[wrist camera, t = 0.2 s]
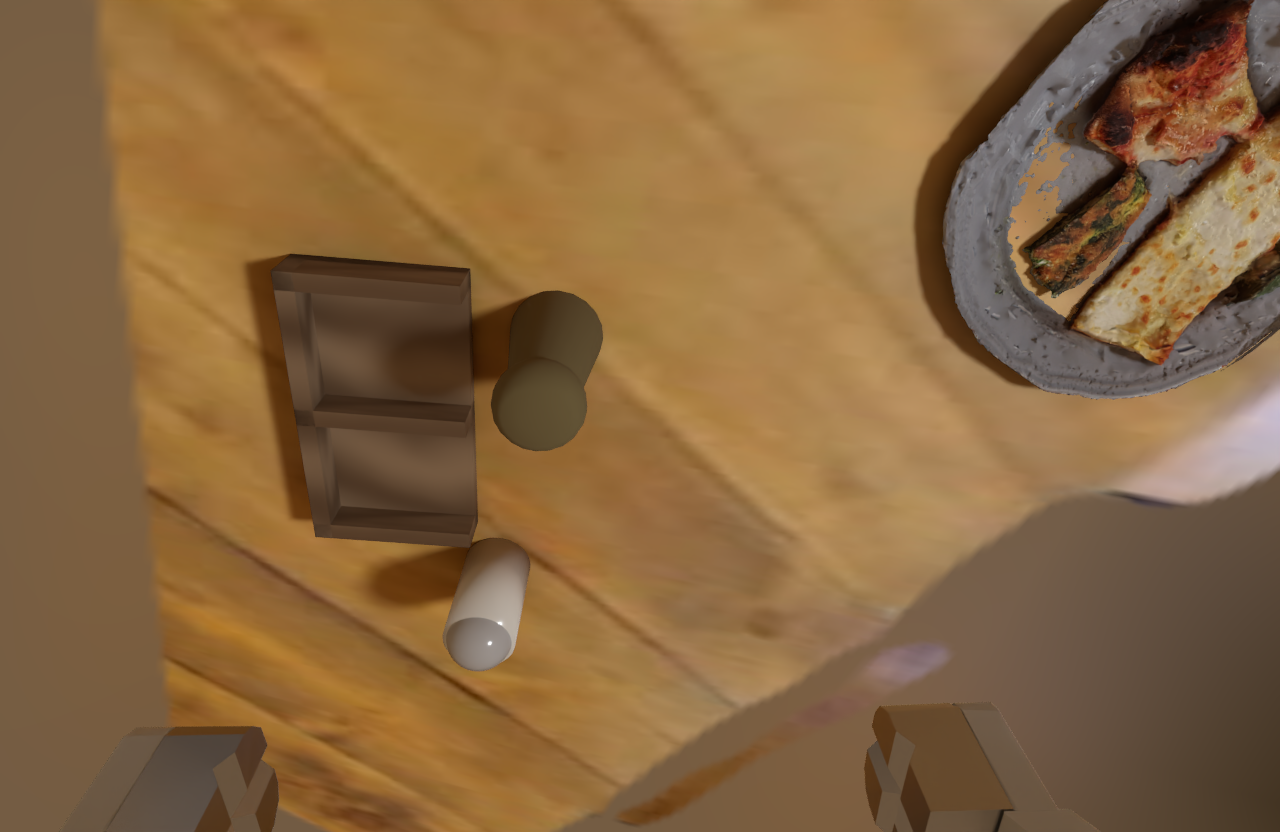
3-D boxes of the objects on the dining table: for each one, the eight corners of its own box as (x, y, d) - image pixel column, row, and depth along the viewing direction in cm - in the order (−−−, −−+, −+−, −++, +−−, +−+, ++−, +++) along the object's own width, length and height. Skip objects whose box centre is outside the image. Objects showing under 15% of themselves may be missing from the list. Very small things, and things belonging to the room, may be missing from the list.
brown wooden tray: (291, 253, 47) (270, 270, 45) (470, 268, 48) (460, 286, 45) (330, 510, 58) (315, 536, 55) (477, 521, 58) (469, 547, 55)
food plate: (1228, -163, 36) (1278, -171, 33) (1478, 127, 43) (1538, 142, 40) (862, 252, 48) (876, 274, 45) (1106, 431, 54) (1132, 460, 51)
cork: (498, 355, 51) (463, 446, 41) (528, 276, 48) (498, 353, 39) (583, 387, 52) (569, 482, 43) (617, 311, 49) (609, 395, 40)
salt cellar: (465, 535, 59) (434, 633, 50) (530, 540, 59) (511, 638, 50) (467, 584, 61) (438, 685, 53) (529, 588, 61) (511, 690, 53)
